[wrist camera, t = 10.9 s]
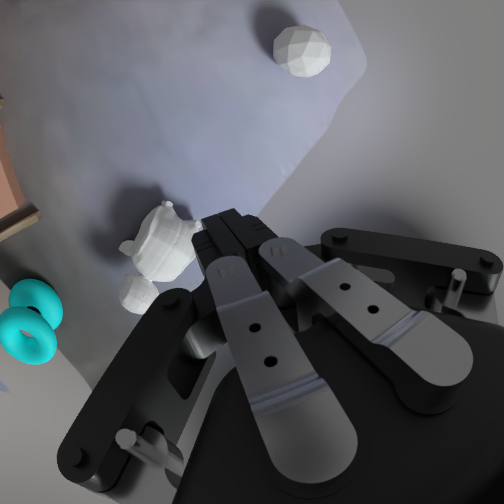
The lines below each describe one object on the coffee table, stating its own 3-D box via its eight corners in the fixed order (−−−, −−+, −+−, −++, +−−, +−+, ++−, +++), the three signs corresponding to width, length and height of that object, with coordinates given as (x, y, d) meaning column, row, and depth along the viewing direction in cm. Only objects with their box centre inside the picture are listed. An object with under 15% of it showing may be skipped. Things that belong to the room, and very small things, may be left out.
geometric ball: (292, 56, 36) (340, 68, 34) (264, 79, 34) (317, 93, 32) (287, 15, 30) (340, 24, 27) (255, 33, 28) (315, 43, 25)
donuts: (29, 375, 30) (-17, 333, 24) (38, 333, 38) (1, 292, 32) (69, 354, 31) (19, 304, 26) (75, 309, 39) (37, 264, 34)
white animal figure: (148, 196, 40) (98, 286, 37) (166, 193, 33) (105, 305, 30) (192, 225, 44) (146, 310, 42) (218, 230, 38) (164, 331, 35)
